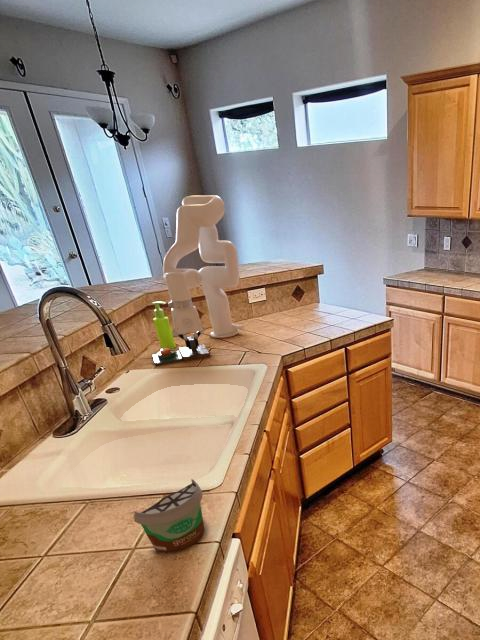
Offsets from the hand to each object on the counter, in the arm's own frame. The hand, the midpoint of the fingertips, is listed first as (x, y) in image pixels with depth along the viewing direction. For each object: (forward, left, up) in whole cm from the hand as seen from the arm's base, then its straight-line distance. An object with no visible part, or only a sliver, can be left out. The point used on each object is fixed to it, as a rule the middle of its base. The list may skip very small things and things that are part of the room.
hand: (193, 348), depth 181 cm
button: (+10, 0, 0) cm, 11 cm away
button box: (+10, 0, -3) cm, 11 cm away
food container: (+18, +120, -3) cm, 121 cm away
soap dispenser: (+8, -18, -3) cm, 20 cm away
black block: (0, 0, -1) cm, 1 cm away
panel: (0, 0, -3) cm, 3 cm away
